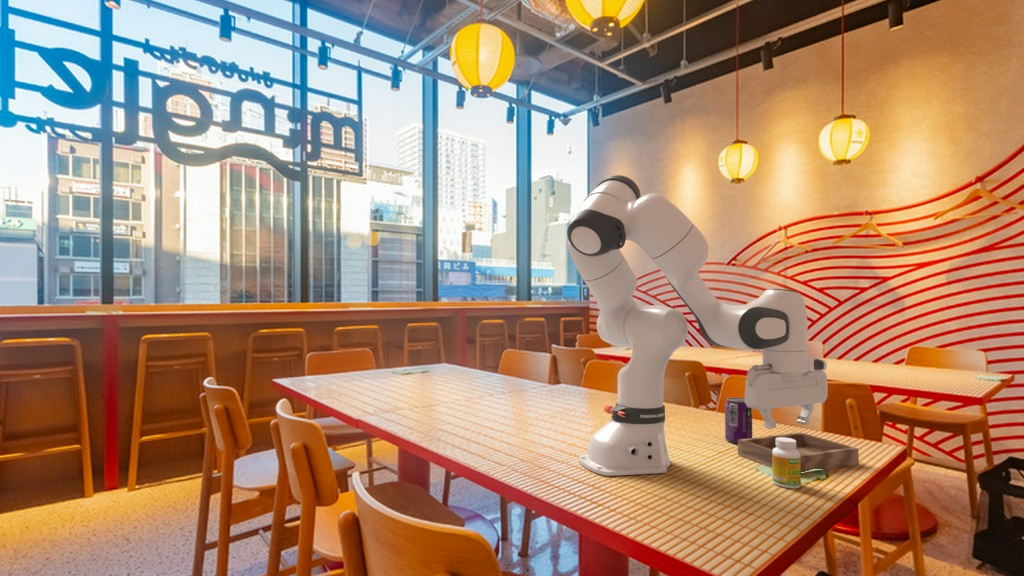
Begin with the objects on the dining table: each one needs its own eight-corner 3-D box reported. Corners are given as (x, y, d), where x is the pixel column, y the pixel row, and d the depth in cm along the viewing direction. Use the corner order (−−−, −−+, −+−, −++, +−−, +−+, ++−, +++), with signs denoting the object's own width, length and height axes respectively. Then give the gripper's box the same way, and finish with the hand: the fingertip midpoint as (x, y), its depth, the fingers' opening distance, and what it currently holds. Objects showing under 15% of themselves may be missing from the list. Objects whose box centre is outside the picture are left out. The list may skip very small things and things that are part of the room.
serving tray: (791, 475, 114) (791, 457, 114) (737, 455, 129) (737, 439, 129) (858, 464, 121) (858, 448, 121) (800, 447, 136) (800, 432, 136)
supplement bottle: (790, 490, 104) (789, 444, 105) (767, 482, 109) (766, 438, 109) (806, 486, 107) (805, 441, 107) (782, 478, 112) (782, 435, 112)
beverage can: (757, 445, 138) (756, 401, 138) (731, 445, 138) (730, 401, 138) (745, 438, 145) (745, 397, 145) (721, 438, 145) (720, 397, 146)
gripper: (759, 367, 102) (761, 434, 102) (832, 361, 109) (834, 424, 108) (736, 364, 108) (738, 427, 108) (807, 358, 115) (809, 418, 114)
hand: (787, 426), depth 108 cm, fingers open, 8 cm apart
